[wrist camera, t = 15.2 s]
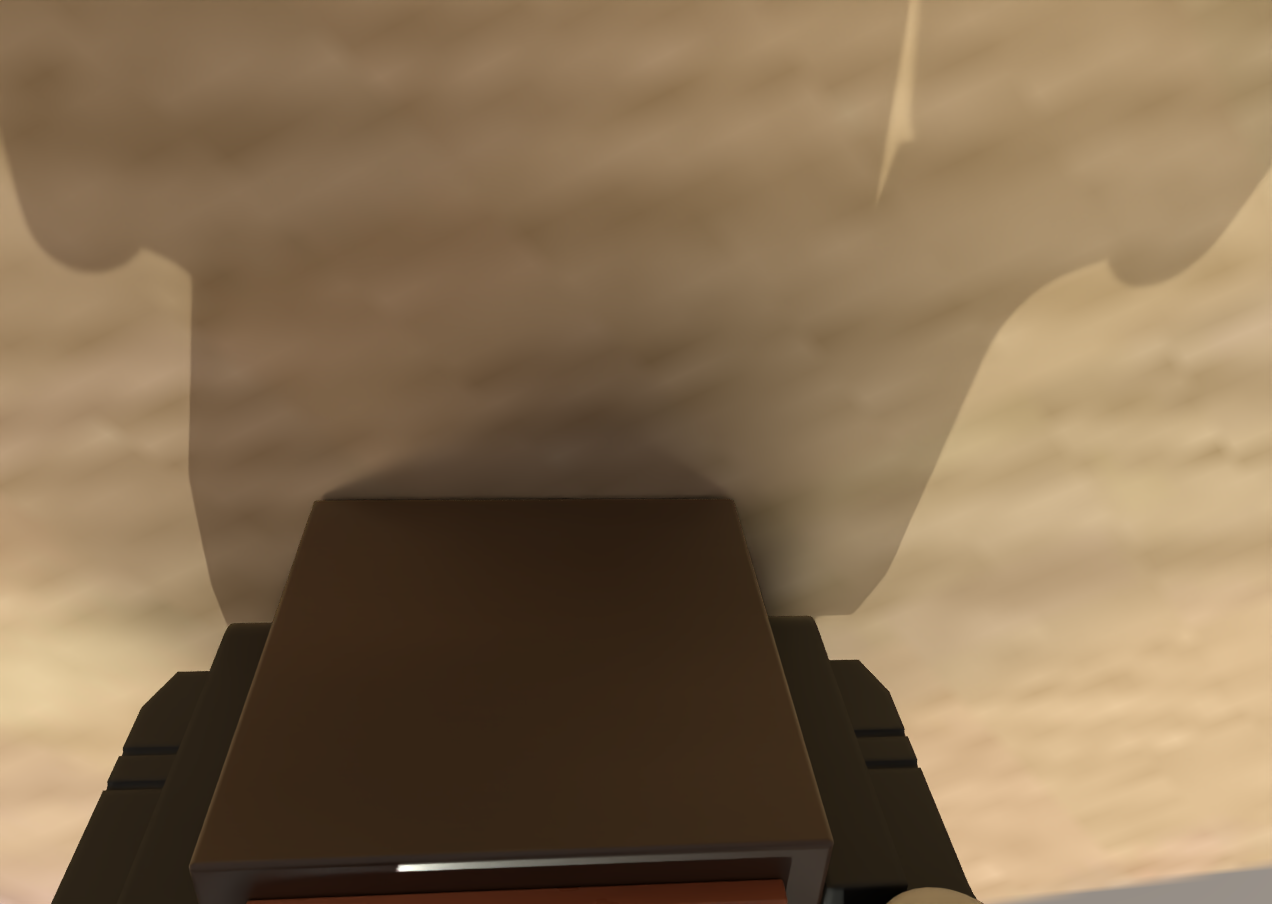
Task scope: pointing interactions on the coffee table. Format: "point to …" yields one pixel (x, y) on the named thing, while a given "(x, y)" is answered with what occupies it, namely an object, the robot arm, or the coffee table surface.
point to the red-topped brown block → (517, 716)
